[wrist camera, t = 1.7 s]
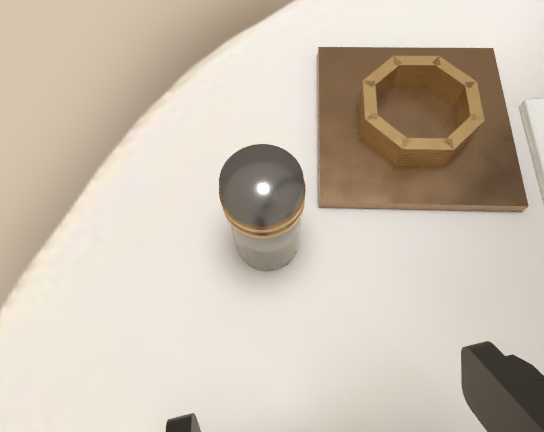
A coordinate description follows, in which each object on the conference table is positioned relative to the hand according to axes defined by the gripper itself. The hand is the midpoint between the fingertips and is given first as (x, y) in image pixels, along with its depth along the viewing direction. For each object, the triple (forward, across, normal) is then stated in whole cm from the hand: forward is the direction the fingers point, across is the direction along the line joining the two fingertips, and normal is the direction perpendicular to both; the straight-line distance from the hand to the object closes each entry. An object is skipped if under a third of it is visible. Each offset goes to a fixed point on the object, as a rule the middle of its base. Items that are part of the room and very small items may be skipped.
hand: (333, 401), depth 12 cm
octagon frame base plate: (+26, -14, -1) cm, 30 cm away
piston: (+21, 0, +4) cm, 21 cm away
